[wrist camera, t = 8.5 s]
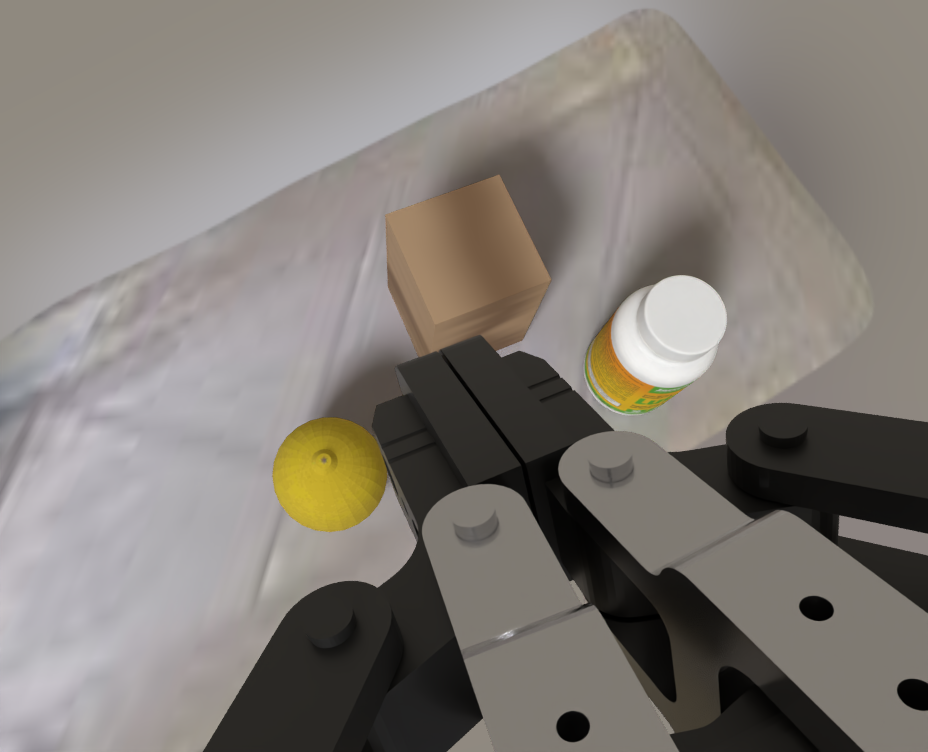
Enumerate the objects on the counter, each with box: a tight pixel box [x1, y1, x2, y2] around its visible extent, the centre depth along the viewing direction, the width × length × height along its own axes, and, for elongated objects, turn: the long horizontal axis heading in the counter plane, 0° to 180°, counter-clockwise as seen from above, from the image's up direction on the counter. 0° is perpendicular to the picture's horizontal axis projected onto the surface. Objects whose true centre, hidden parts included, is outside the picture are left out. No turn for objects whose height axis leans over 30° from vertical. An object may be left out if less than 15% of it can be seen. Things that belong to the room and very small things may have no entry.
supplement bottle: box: [583, 275, 727, 415], centre depth 40 cm, size 5×5×10 cm
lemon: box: [273, 417, 387, 532], centre depth 38 cm, size 6×6×8 cm
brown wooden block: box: [385, 175, 551, 357], centre depth 41 cm, size 6×6×9 cm
